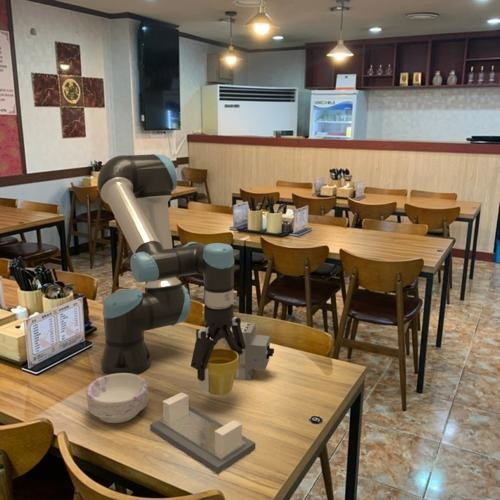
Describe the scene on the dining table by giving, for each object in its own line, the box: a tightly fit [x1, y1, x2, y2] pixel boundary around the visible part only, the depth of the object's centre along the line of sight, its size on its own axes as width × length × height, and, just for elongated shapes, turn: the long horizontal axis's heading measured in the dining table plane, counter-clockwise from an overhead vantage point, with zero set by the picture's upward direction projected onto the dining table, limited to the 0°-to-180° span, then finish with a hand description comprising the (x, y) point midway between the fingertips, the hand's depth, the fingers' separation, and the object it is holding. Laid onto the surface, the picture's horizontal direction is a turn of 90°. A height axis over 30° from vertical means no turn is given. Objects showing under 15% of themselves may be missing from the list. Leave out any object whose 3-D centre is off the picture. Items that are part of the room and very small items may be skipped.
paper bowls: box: [86, 373, 149, 424], centre depth 132 cm, size 15×15×8 cm
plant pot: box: [201, 348, 239, 396], centre depth 136 cm, size 10×10×10 cm
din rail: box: [158, 411, 246, 461], centre depth 122 cm, size 22×8×1 cm, turn 47°
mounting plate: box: [149, 406, 256, 474], centre depth 122 cm, size 24×12×2 cm, turn 47°
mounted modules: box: [162, 392, 243, 455], centre depth 121 cm, size 21×6×5 cm, turn 47°
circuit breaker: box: [223, 321, 275, 381], centre depth 152 cm, size 8×14×15 cm, turn 78°
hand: (219, 382), depth 136 cm, fingers closed on plant pot, 10 cm apart
